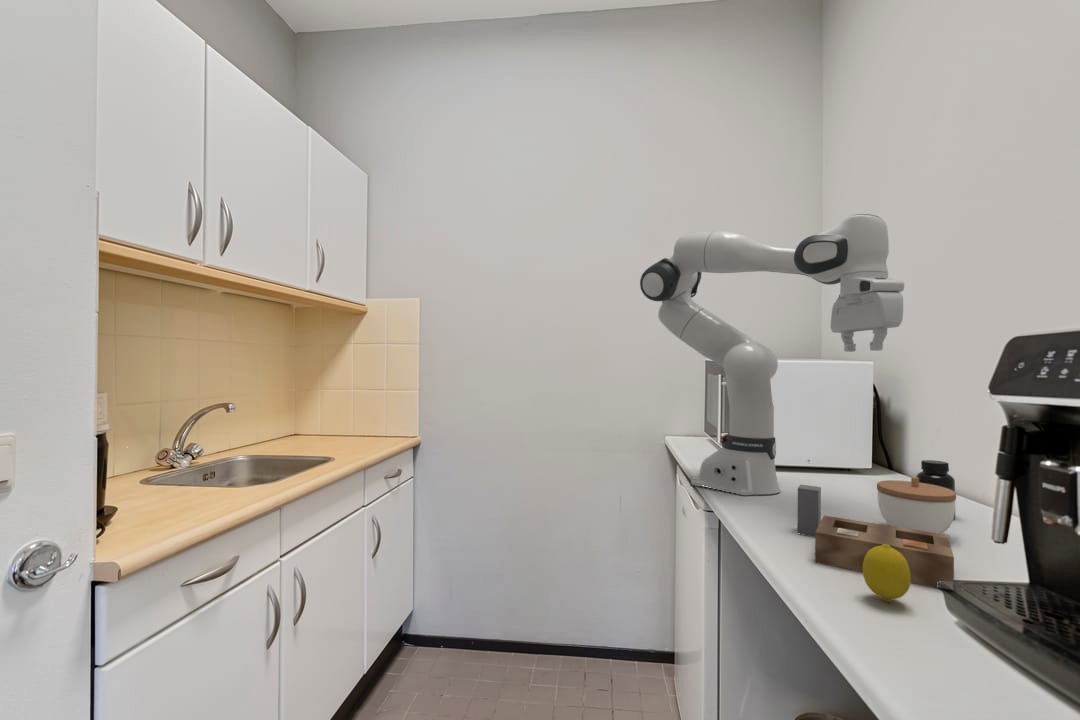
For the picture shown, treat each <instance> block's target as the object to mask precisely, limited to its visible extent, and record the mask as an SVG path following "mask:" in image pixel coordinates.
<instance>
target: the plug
mask: <svg viewBox="0 0 1080 720" xmlns="http://www.w3.org/2000/svg"><path fill="white" fill-rule="evenodd" d="M821 493H822V488H821V486H815V485H806V484H799V486H798V487H797V523H796V524H797V525H796V526H797V528H796V529H797V533H800V534H799V535H802V534H804V535H803V536H807V535H810V536H809V537H812V536H814V537H815V532H816V530H817V528H818V526H819V524H820V522H821V520H822V515H821V514H822V513H821V511H822V510H821V509H822V508H821V507H822V505H821V504H822V502H821V499H822V495H821ZM797 533H796V534H797Z"/></svg>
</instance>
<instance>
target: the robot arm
mask: <svg viewBox="0 0 1080 720" xmlns="http://www.w3.org/2000/svg"><path fill="white" fill-rule="evenodd" d="M796 246H797V247H796V248H788V247H786V248H785V247H777V246H771V245H768V244H764V243H762V242H760V241H757V240H755V239H753V238H750V237H748V236H747V235H744V234H740V233H737V232H732V231H726V230H705V231H694V232H689V233H685V234H683V235H681V236H679V238H678V239H677V240H676V241H675V244H674V247H673V254H672V256H671V257H670V258H666V257H664V258H662V259H660V260H659V261H658V262H655V263H653V264H652V265H650V266H649V267H648V268H647V269H645V271H644V272H643V273H642V275H641V276H640V280H639V286H640V290H641V292H642V294H643V295H644V296H645V297H646V298H647V299H649V300H650V301H653V302H661V305H660V307H659V309H658V314H657V316H658V319H659V321H660V323H661V324H662V325H663V326H664V327H665V328H666V330H668V331H669V332H670V333H671V334H672V335H674V336H675V337H677V339H679V340H680V341H682V342H683V343H685V345H687V346H688V347H690V348H692V349H693V350H694V351H696V352H697V353H698V354H700V355H702V356H703V357H704V358H707V359H709V360H711V361H712V362H714V363H716V364H717V365H719V366H721V367H723V370H724V373H725V382H726V383H725V384H726V390H727V391H726V392H727V397H728V405H729V406H728V409H729V411H728V413H729V416H728V417H729V418H728V419H729V423H728V424H729V428H728V429H729V431H728V433H726V434H724V435H723V436H722V437H721V438H720V443H721V446H722V447H721V448H719V449H718V450H716V451H715V452H714V453H712V454H711V455H709V456H708V457H706V458H705V459H704V460H703V461H702V463H701V465H700V469H699V474H698V475H695V476H692V478H691V479H690V483H691V485H692V486H695V487H700V486H702V485H704V486H708V487H711V488H715V489H719V490H723V491H722V492H724V491H726V492H725V493H729V492H731V494H734V493H736V494H735V495H739V494H740V496H753V495H773V494H778V493H780V492H781V489H780V485H779V482H778V477H777V471H776V463H775V459H776V455H777V441H776V437H775V436H774V435H775V431H774V430H775V425H774V423H775V422H774V421H775V420H774V419H775V416H774V415H775V408H774V402H773V395H772V387H771V386H772V385H771V384H772V383H771V379H772V378H773V377H774V376H775V375H776V373H777V370H778V366H779V365H778V363H779V362H778V359H777V356H776V354H775V353H774V351H773V350H771V349H770V348H769V347H767V346H766V345H764V344H762V343H760V342H759V341H758V340H756V339H754V338H752V337H751V336H749V335H748V334H746V333H744V332H743V331H741V330H739V329H738V328H735V326H732V325H731V324H729V323H727V322H726V321H724V320H723V319H721V318H719V317H718V316H716V315H715V314H714V313H712V312H710V311H709V310H707V309H706V308H704V307H703V306H701V305H700V304H698V303H697V302H695V300H693V298H694V297H695V296H696V295H697V293H698V287H699V285H700V283H701V279H702V273H709V274H735V273H754V272H755V273H756V272H770V273H771V272H772V273H779V274H792V275H793V274H794V275H800V276H801V275H802V276H806V277H809V278H811V279H813V280H815V281H816V282H818V283H821V284H823V285H829V286H830V285H831V286H832V285H837V284H839V285H840V286H839V287H840V289H839V295H838V296H837V297H838V298H836V300H835V302H834V303H833V305H832V310H831V317H830V329H831V333H835V334H836V333H837V334H838V333H840V337H841V340H842V342H843V347H844V349H843V351H844V352H846V353H847V352H848V353H850V352H851V353H852V352H853V353H854V352H856V350H857V349H856V348H857V345H856V343H854V340H853V337H854V335H855V332H856V333H857V332H865V331H872V334H873V338H872V340H871V341H870V342H869V350H870V351H874V352H875V351H877V352H879V351H883V349H884V346H883V345H884V344H883V343H884V341H885V339H886V337H887V335H888V329H893V328H899V327H900V325H902V321H903V319H904V297H903V294H902V292H903V291H904V290H905V282H904V281H903V280H899V279H894V278H892V277H889V270H888V267H887V258H888V256H889V252H890V251H889V249H890V248H889V246H890V245H889V230H888V226H887V223H886V221H885V220H884V219H883V218H882V217H880V216H878V215H876V214H875V215H874V214H868V213H859V214H853V215H848V216H846V217H845V218H844V219H843V220H842V221H841V222H839V223H838V224H836V225H835V226H833V227H831V228H829V229H827V230H824V231H823V232H820V233H817V234H814V235H810V236H807V237H806V238H804V239H803V240H801V242H799V244H798V245H796ZM719 490H718V491H719Z"/></svg>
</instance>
